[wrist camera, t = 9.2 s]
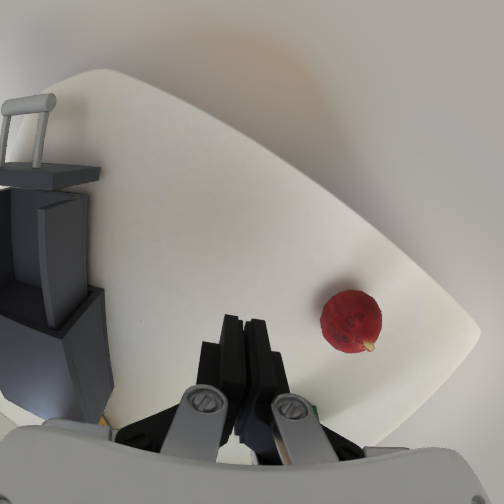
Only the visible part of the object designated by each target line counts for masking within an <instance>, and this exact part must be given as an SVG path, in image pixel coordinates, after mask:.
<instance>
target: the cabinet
mask: <svg viewBox="0 0 504 504" xmlns="http://www.w3.org/2000/svg"><path fill="white" fill-rule="evenodd" d="M87 291H88V298H87V299H86V300H85V301H84V302H83V304H82V305H81V306H80V307H79V308H78V309H77V310H76V311H75V313H74V314H73V315H72V316H71V317H70V318H69V319H68V321H67V322H66V323H65V324H64V325H63V326H62V327H61V329H60V330H59V331H56V330H54V329H51V328H48V327H45V326H43V325H40V324H37V323H35V322H32V321H30V320H27V319H25V318H22V317H20V316H17V315H15V314H13V313H10V312H8V311H6V310H4V309H1V308H0V390H1V392H2V394H3V396H4V398H6V399H7V400H9V401H11V402H12V403H14V404H16V405H18V406H19V407H21V408H23V409H25V410H27V411H29V412H31V413H32V414H34V415H36V416H38V417H40V418H43V419H45V420H47V419H49V418H53V417H55V418H63V419H68V420H73V421H79V422H85V423H91V424H98V425H99V422H100V420H101V417H102V415H103V412H104V410H105V407H106V405H107V402H108V400H109V398H110V395H111V393H112V390H113V388H114V383H113V377H112V371H111V364H110V356H109V348H108V339H107V328H106V316H105V298H104V289H101V288H96V287H92V286H88V285H87Z"/></svg>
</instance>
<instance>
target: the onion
mask: <svg viewBox="0 0 504 504" xmlns="http://www.w3.org/2000/svg"><path fill="white" fill-rule="evenodd" d="M320 323H321V328H322V334H323V336H324V338H325V339H326V340H327V341H328V342H329V343H330V344H331V345H332V346H333V347H334V348H335V349H337V350H339V351H342V352H345V353H359V352H362V351H365V350H367V351H368V352H371V351H373V350H374V349H375V347H374V343H375V341H376V340H377V338H378V336H379V334H380V331H381V329H382V314H381V310H380V308H379V306H378V304H377V302H376V301H375V299H374V298H373V297H371V296H369V295H367V294H366V293H364V292H362V291H358V290H346V291H342V292H339V293H338V294H336V295H334V296H333V297H331V298H330V300H329V301H328V302H327V303H326V304H325V305H324V308H323V311H322V314H321V318H320Z"/></svg>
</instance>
